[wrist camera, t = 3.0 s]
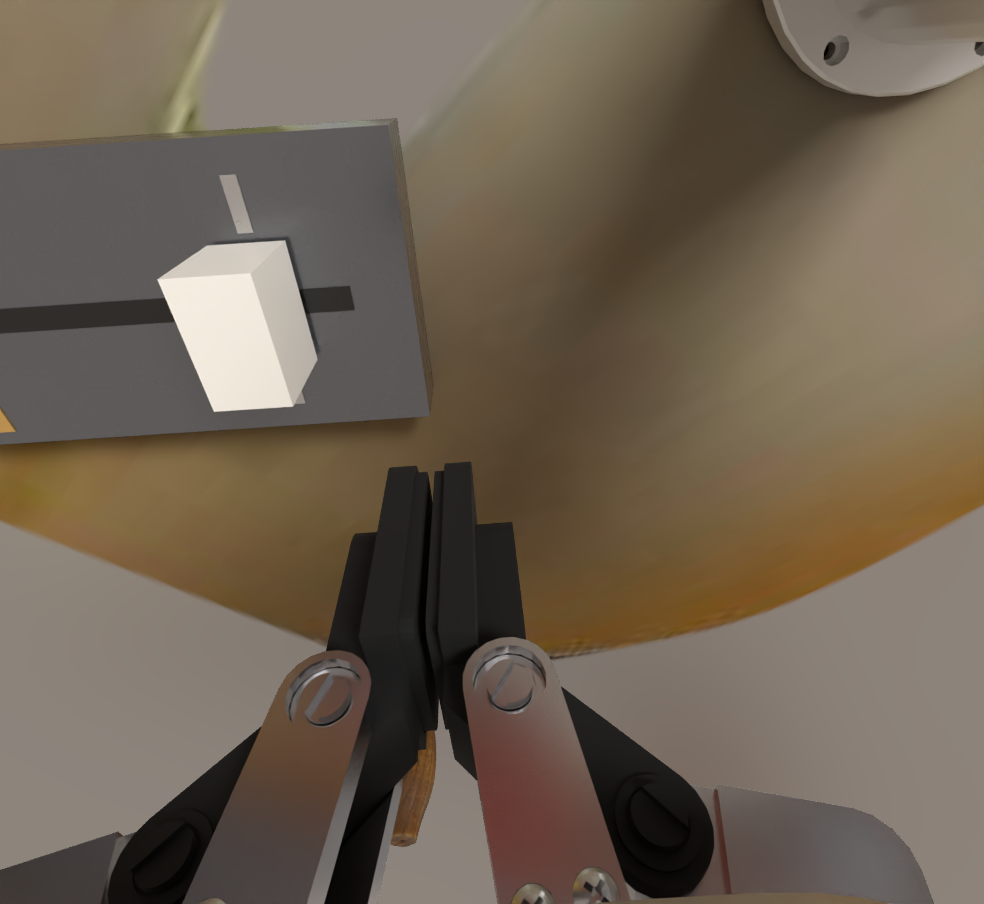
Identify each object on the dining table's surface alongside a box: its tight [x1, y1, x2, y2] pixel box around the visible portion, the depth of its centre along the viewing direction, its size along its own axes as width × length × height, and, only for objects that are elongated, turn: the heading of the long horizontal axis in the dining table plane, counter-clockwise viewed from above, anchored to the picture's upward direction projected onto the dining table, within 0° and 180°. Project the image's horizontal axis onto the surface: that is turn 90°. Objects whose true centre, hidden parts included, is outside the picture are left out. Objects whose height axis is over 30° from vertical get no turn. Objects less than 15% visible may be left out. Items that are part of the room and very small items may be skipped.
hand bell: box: [391, 731, 436, 847], centre depth 30 cm, size 8×8×16 cm
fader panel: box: [0, 118, 433, 445], centre depth 23 cm, size 28×12×3 cm, turn 93°
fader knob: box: [157, 240, 317, 412], centre depth 20 cm, size 3×5×4 cm, turn 3°
